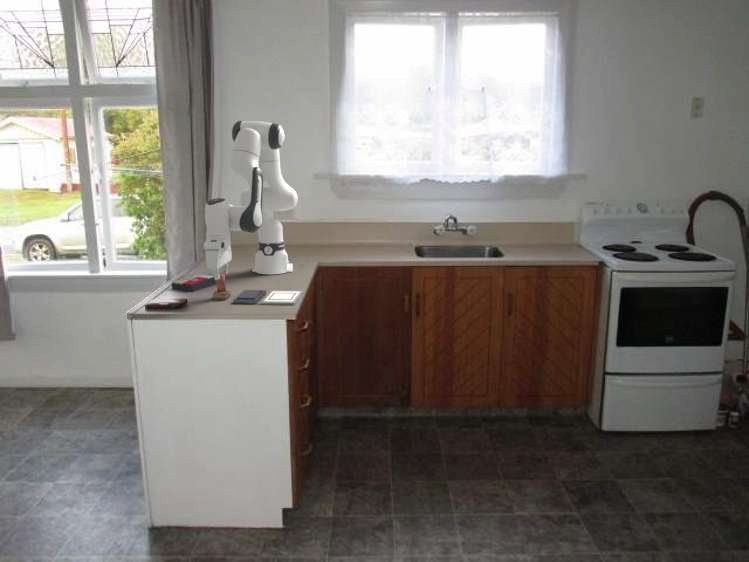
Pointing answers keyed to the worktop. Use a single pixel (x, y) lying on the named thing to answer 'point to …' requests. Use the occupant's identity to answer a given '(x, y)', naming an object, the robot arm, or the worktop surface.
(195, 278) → the calculator
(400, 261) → the worktop surface
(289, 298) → the board
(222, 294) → the stamp
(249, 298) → the ink pad
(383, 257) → the worktop surface
